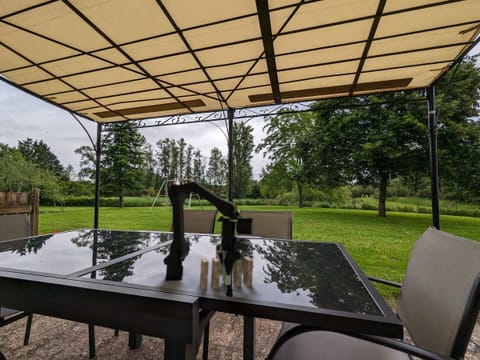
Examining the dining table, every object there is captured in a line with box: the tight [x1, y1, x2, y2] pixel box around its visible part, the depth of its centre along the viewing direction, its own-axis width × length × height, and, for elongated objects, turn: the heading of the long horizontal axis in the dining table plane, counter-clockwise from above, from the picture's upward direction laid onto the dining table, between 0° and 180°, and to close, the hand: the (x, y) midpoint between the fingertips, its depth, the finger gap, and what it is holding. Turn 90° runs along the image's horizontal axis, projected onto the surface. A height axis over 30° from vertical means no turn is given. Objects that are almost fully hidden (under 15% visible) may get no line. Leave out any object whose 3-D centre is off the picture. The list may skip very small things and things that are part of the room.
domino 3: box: [221, 263, 232, 286], centre depth 92 cm, size 2×6×10 cm, turn 17°
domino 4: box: [232, 258, 243, 288], centre depth 93 cm, size 2×6×10 cm, turn 17°
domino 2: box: [210, 257, 221, 290], centre depth 90 cm, size 2×6×10 cm, turn 17°
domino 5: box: [242, 256, 254, 287], centre depth 94 cm, size 2×6×10 cm, turn 17°
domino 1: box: [199, 257, 209, 290], centre depth 89 cm, size 2×6×10 cm, turn 17°
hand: (226, 273), depth 92 cm, fingers closed on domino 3, 6 cm apart
